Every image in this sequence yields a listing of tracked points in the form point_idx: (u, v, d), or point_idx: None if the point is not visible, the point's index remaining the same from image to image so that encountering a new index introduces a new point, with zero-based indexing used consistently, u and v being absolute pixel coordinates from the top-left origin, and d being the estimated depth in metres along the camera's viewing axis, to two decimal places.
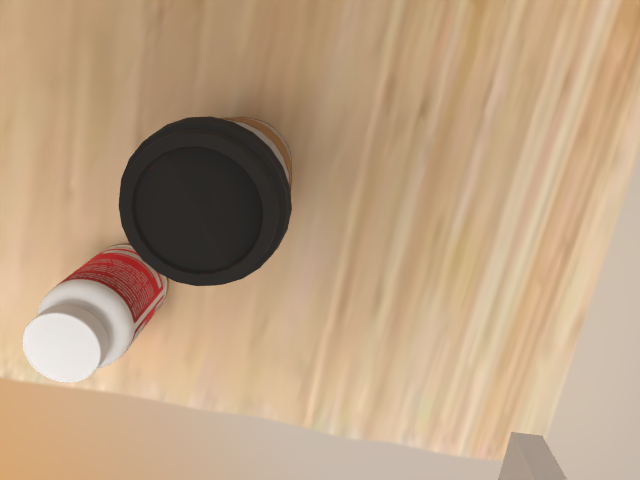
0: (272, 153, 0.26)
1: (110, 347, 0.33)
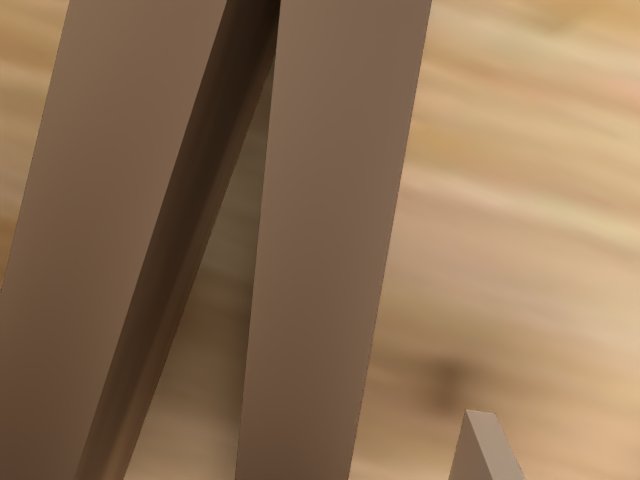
0: None
1: None
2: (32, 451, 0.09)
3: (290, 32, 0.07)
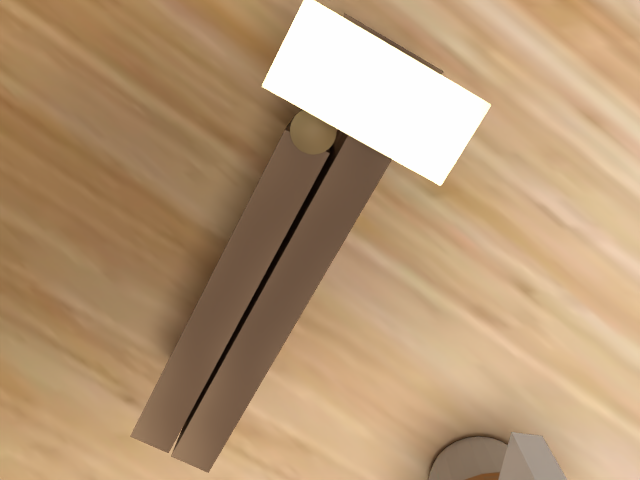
0: None
1: None
2: (213, 329, 0.24)
3: (321, 192, 0.22)
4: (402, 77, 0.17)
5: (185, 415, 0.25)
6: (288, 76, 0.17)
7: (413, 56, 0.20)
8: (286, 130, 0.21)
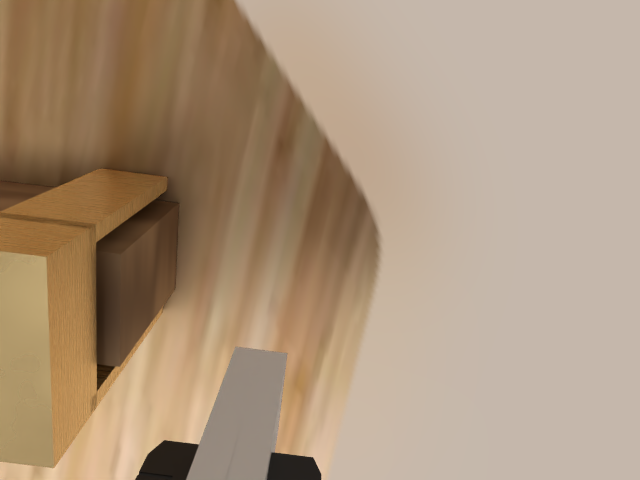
0: None
1: None
2: None
3: None
4: (27, 380, 0.15)
5: None
6: None
7: (117, 334, 0.18)
8: None
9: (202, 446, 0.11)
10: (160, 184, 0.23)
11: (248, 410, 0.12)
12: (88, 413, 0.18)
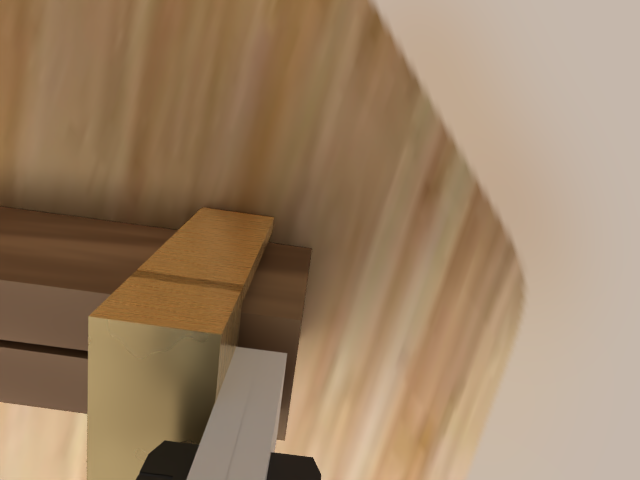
0: None
1: None
2: None
3: None
4: None
5: None
6: (117, 345, 0.12)
7: (286, 406, 0.17)
8: None
9: (202, 446, 0.11)
10: (271, 226, 0.21)
11: (248, 410, 0.12)
12: None
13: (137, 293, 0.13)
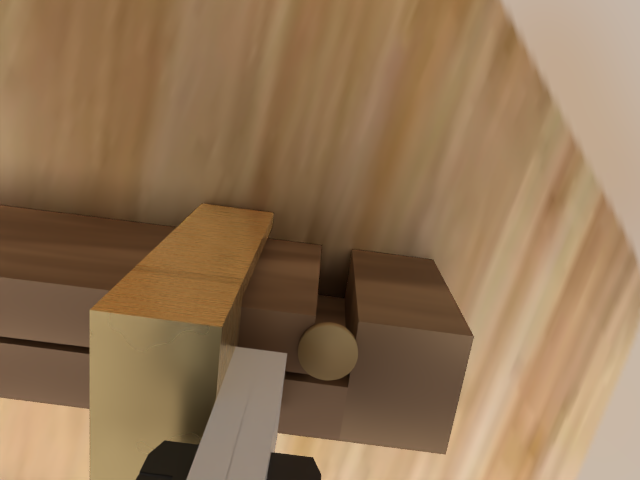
0: None
1: None
2: (8, 313, 0.16)
3: None
4: None
5: None
6: (118, 338, 0.12)
7: (451, 421, 0.17)
8: (314, 316, 0.16)
9: (202, 446, 0.11)
10: (270, 221, 0.21)
11: (248, 410, 0.12)
12: None
13: (138, 287, 0.13)
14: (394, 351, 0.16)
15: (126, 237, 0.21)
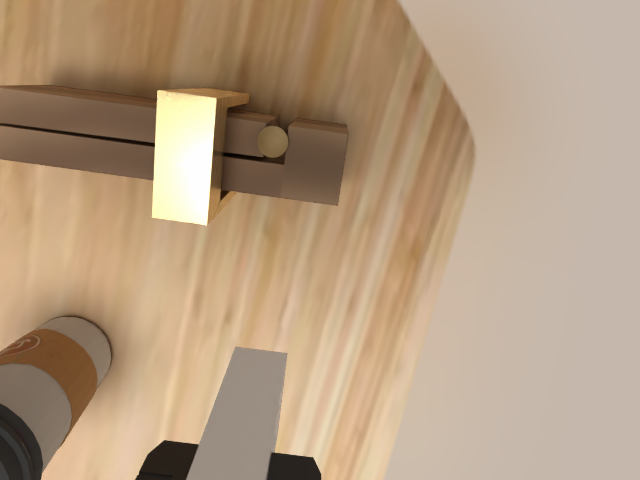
0: (22, 424, 0.30)
1: None
2: (106, 122, 0.31)
3: (236, 161, 0.31)
4: (198, 169, 0.28)
5: (26, 124, 0.31)
6: (169, 104, 0.27)
7: (339, 184, 0.32)
8: (266, 123, 0.31)
9: (202, 446, 0.11)
10: (247, 96, 0.36)
11: (248, 410, 0.12)
12: (216, 211, 0.31)
13: (177, 91, 0.28)
14: (308, 143, 0.31)
15: None
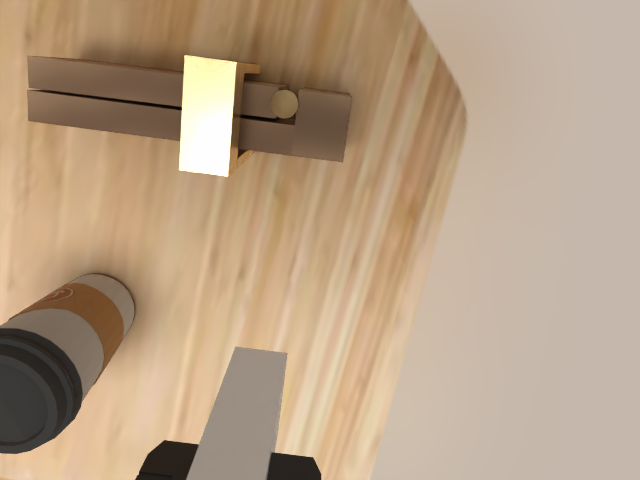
0: (64, 356, 0.34)
1: None
2: (136, 87, 0.35)
3: (252, 122, 0.35)
4: (220, 126, 0.32)
5: (64, 90, 0.35)
6: (195, 68, 0.31)
7: (344, 143, 0.35)
8: (278, 88, 0.35)
9: (202, 446, 0.11)
10: (259, 67, 0.40)
11: (248, 410, 0.12)
12: (234, 166, 0.35)
13: None
14: (316, 105, 0.35)
15: None
